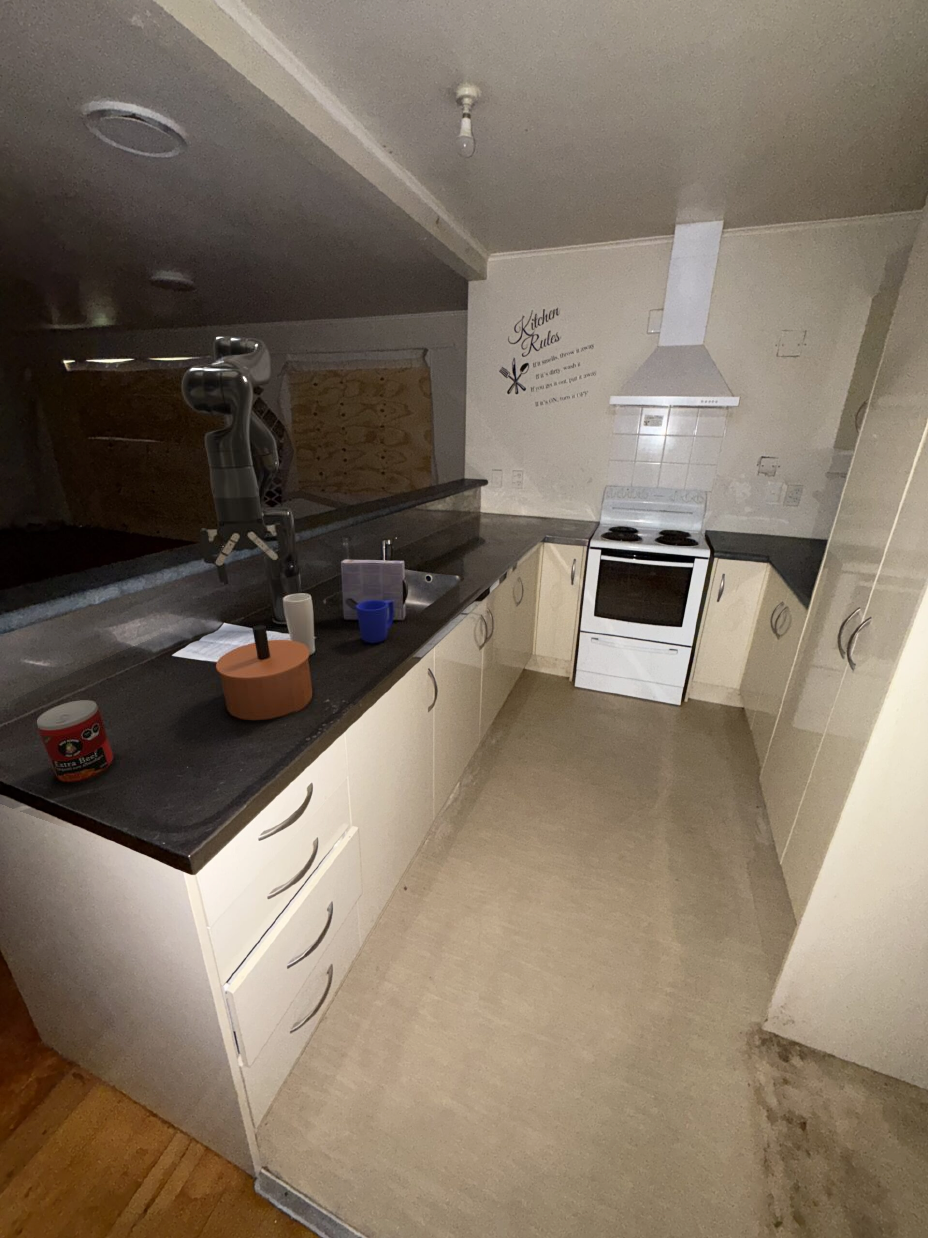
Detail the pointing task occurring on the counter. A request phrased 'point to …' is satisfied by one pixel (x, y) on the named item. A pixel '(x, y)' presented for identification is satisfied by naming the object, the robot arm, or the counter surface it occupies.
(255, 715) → the pot
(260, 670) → the pot lid
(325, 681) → the counter surface
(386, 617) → the mug
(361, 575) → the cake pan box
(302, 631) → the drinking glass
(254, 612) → the counter surface
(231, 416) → the robot arm
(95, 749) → the canned food
